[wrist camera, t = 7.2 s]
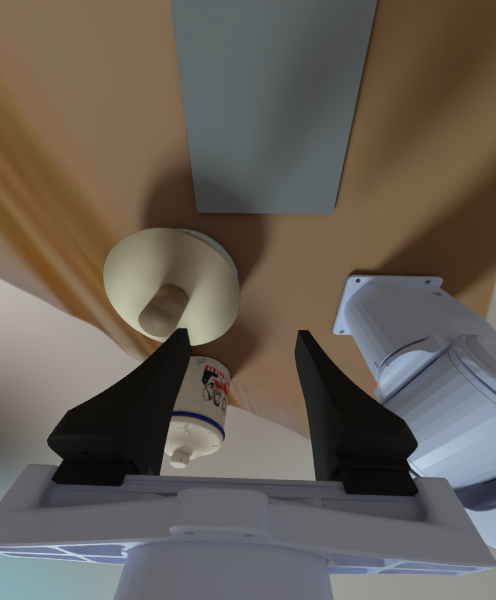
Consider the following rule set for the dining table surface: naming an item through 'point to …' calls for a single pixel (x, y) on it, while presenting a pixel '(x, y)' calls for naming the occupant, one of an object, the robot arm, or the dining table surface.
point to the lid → (172, 285)
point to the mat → (269, 99)
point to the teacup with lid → (198, 412)
